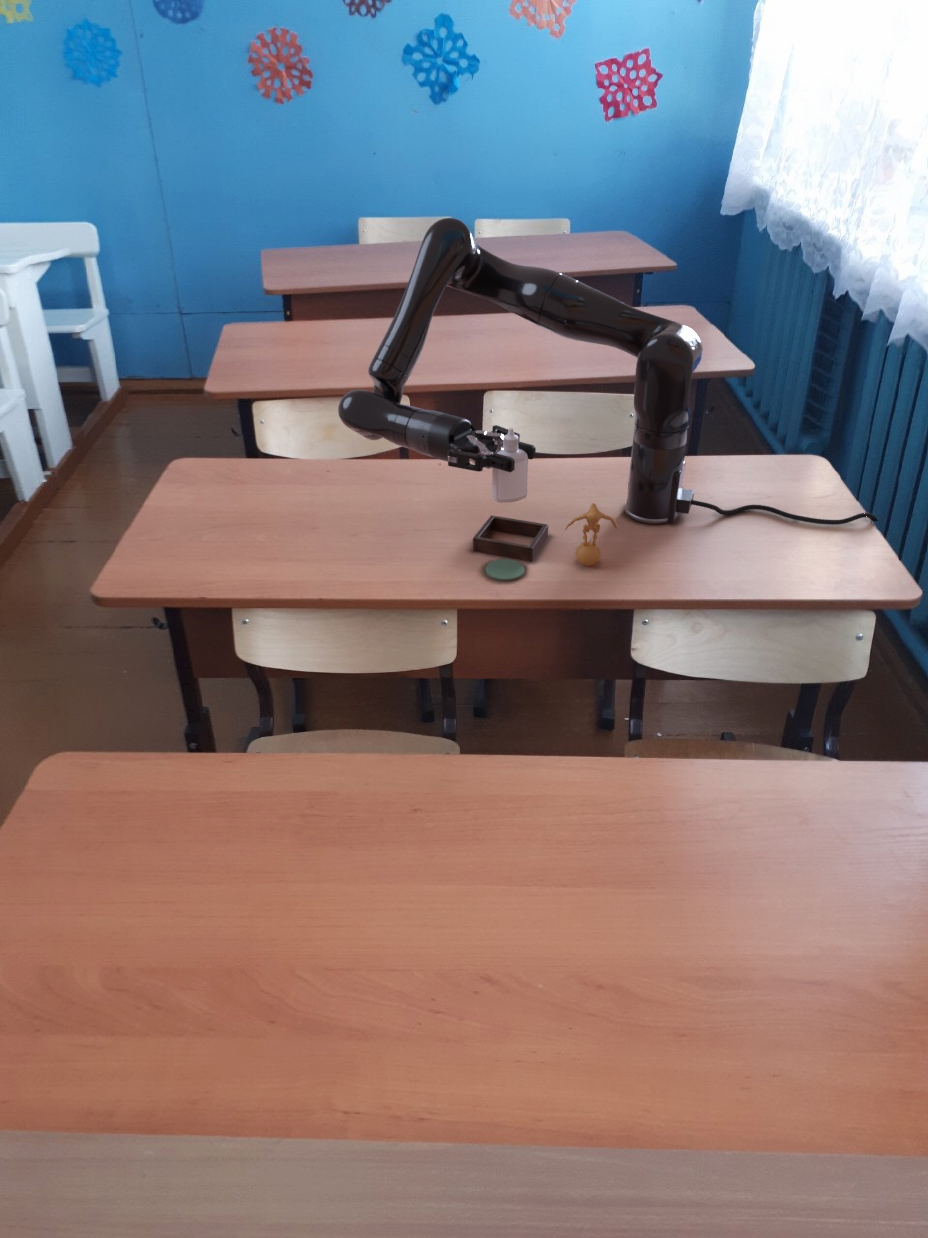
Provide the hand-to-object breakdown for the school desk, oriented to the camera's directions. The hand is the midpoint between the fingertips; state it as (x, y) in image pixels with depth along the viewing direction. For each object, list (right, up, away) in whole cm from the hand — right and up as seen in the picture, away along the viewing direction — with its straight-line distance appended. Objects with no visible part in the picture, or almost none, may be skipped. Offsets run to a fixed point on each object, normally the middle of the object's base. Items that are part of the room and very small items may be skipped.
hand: (523, 459), depth 138 cm
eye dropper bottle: (-2, -6, +6) cm, 8 cm away
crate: (-1, -12, +13) cm, 18 cm away
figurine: (+11, -17, +6) cm, 21 cm away
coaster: (-3, -17, +6) cm, 18 cm away
